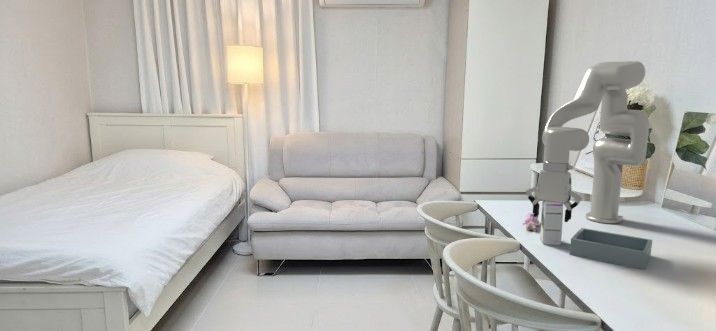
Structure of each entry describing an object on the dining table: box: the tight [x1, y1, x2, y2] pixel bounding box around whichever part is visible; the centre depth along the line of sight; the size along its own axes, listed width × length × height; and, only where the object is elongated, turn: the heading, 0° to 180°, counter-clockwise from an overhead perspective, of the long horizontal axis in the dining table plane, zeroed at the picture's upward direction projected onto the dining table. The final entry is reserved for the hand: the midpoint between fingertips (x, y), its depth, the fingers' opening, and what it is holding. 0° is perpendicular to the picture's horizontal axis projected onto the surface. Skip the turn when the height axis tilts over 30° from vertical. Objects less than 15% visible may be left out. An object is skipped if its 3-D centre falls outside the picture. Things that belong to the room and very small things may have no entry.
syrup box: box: [539, 201, 564, 246], centre depth 154 cm, size 6×6×14 cm
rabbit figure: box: [522, 212, 541, 233], centre depth 172 cm, size 6×6×15 cm
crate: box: [569, 227, 653, 271], centre depth 143 cm, size 14×20×5 cm
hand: (551, 218), depth 153 cm, fingers open, 9 cm apart
